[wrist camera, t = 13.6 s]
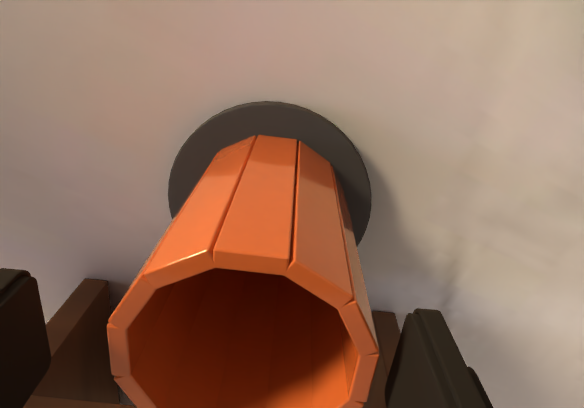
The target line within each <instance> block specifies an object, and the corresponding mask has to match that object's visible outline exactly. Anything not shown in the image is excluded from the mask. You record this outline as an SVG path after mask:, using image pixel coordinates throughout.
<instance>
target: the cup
mask: <svg viewBox="0 0 584 408" xmlns="http://www.w3.org/2000/svg"><path fill="white" fill-rule="evenodd" d="M108 322H109V323H108V324H107V335H108V345H109V355H110V365H111V374H112V375H113V376H114V381H115V382H116V383H117V384H118V385H119V387H120V388H121V389H122V390H123V391H124V393H125V394H126V395H127V396H128V397H129V399H130V400H131V401H132V402H133V403H134V405H135V406H136V407H137V408H362V407H363V406H364V402H367V399H368V396H369V392H370V388H371V385H372V381H373V378H374V374H375V370H376V367H377V363H378V359H379V347H378V342H377V338H376V333H375V328H374V324H373V319H372V315H371V310H370V306H369V301H368V297H367V292H366V288H365V283H364V278H363V274H362V269H361V265H360V260H359V256H358V251H357V247H356V242H355V238H354V233H353V228H352V224H351V219H350V215H349V210H348V206H347V201H346V197H345V194H344V192H343V189H342V187H341V185H340V182H339V180H338V177H337V175H336V172H335V170H334V168H333V166H332V165H331V164H330V162H329V161H327V160H326V159H325V158H323V157H322V156H321V155H319V154H318V153H316V152H315V151H314V150H312V149H311V148H310V147H308V146H307V145H306V144H304V143H303V142H301V141H299V142H298V143H297V139H290V138H282V137H274V136H265V135H258V136H257V138H256V136H255V135H254V136H251V137H249V138H247V139H244V140H242V141H240V142H237V143H235V144H233V145H230V146H228V147H226V148H223V149H221V150H220V152H217V154H216V155H215V156H214V158H213V159H212V161H211V162H210V164H209V165H208V167H207V168H206V169H205V171H204V172H203V174H202V175H201V177H200V178H199V180H198V181H197V183H196V184H195V186H194V187H193V189H192V190H191V192H190V194H189V195H188V197H187V198H186V200H185V201H184V203H183V204H182V206H181V208H180V209H179V211H178V212H177V214H176V215H175V217H174V218H173V220H172V221H171V223H170V225H169V226H168V228H167V229H166V231H165V232H164V234H163V235H162V237H161V239H160V240H159V242H158V243H157V245H156V246H155V248H154V249H153V251H152V253H151V254H150V256H149V257H148V259H147V260H146V262H145V263H144V265H143V266H142V268H141V270H140V271H139V273H138V274H137V276H136V277H135V279H134V280H133V282H132V284H131V285H130V287H129V288H128V290H127V291H126V293H125V294H124V296H123V298H122V299H121V301H120V302H119V304H118V305H117V307H116V308H115V310H114V312H113V313H112V315H111V316H110V318H109V319H108Z"/></svg>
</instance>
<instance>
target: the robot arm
mask: <svg viewBox="0 0 584 408" xmlns="http://www.w3.org/2000/svg"><path fill="white" fill-rule="evenodd" d="M50 364H51V352H50V347H49V341H48V336H47V331H46V326H45V321H44V315H43V310H42V305H41V300H40V295H39V290H38V284H37V281H36V279H35V278H34V277H31V275H30V273H29V272H28V271H25V270H16V269H6V268H2V269H0V408H23V407H24V405H25V404H26V402H27V401H28V399H29V398H30V396H31V395H32V393H33V392H34V390H35V389H36V387H37V386H38V384H39V383H40V382H41V380H42V379H43V377H44V376H45V374H46V373H47V371H48V369H49V367H50ZM384 395H385V403H386V407H387V408H493V406H492V404H491V402H490V400H489V398H488V396H487V394H486V392H485V390H484V388H483V386H482V384H481V382H480V380H479V378H478V376H477V374H476V373H475V371H474V370H473V369H472V368H471V367H467V366H466V364H465V362H464V360H463V358H462V355H461V353H460V351H459V349H458V347H457V345H456V343H455V341H454V339H453V337H452V334H451V332H450V330H449V328H448V326H447V324H446V322H445V320H444V318H443V316H442V314H441V312H440V311H438V310H430V309H419V308H417V309H415V310H414V312H413V314H411V313H409V314H407V316H406V319H405V322H404V325H403V329H402V332H401V335H400V338H399V342H398V345H397V348H396V352H395V355H394V358H393V362H392V365H391V368H390V371H389V375H388V378H387V381H386V385H385V392H384Z"/></svg>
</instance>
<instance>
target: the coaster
mask: <svg viewBox="0 0 584 408" xmlns="http://www.w3.org/2000/svg"><path fill="white" fill-rule="evenodd" d="M254 135H255V136H256V138H257V136H258V135H265V136H274V137H282V138H290V139H297V143H298V142H299V141H301V142H303V143H304V144H306V145H307V146H308V147H310V148H311V149H312V150H314V151H315V152H316V153H318V154H319V155H321V156H322V157H323V158H325V159H326V160H327V161H329V162H330V164H331V165H332V166H333V168H334V170H335V172H336V175H337V177H338V180H339V182H340V185H341V187H342V189H343V192H344V194H345V197H346V201H347V206H348V210H349V215H350V219H351V224H352V228H353V233H354V238H355V242H356V247H357V246H358V244H359V243H360V241H361V239H362V237H363V235H364V233H365V230H366V228H367V224H368V221H369V218H370V211H371V189H370V182H369V178H368V175H367V172H366V168H365V166H364V164H363V161H362V159H361V157H360V155H359V153H358V151H357V150H356V148H355V147H354V145H353V144H352V142H351V141H350V140H349V139H348V138H347V137H346V135H345V134H344V133H343V132H342V131H341V130H340V129H338V128H337V127H336V126H335V125H334V124H333V123H331V122H330V121H328V120H327V119H325V118H324V117H322V116H321V115H319V114H317V113H314V112H312V111H310V110H308V109H305V108H302V107H299V106H296V105H292V104H287V103H282V102H268V101H265V102H252V103H247V104H242V105H238V106H235V107H232V108H230V109H227V110H224V111H222V112H220V113H219V114H217V115H215V116H213V117H211V118H210V119H209V120H207V121H206V122H205V123H203V124H202V125H201V126H200V127H199V128H198V129H197V130H196V131H195V132H194V133H193V134H192V135H191V136H190V137H189V138H188V140H187V141H186V142H185V143H184V145H183V146H182V148H181V149H180V151H179V153H178V155H177V157H176V159H175V161H174V164H173V167H172V170H171V174H170V179H169V188H168V199H169V208H170V212H171V216H172V220H173V218H174V217H175V215H176V214H177V212H178V211H179V209H180V208H181V206H182V204H183V203H184V201H185V200H186V198H187V197H188V195H189V194H190V192H191V190H192V189H193V187H194V186H195V184H196V183H197V181H198V180H199V178H200V177H201V175H202V174H203V172H204V171H205V169H206V168H207V167H208V165H209V164H210V162H211V161H212V159H213V158H214V156H215V155H216V154H217V152H220V150H221V149H223V148H226V147H228V146H230V145H233V144H235V143H237V142H240V141H242V140H244V139H247V138H249V137H251V136H254Z"/></svg>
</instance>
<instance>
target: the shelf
mask: <svg viewBox="0 0 584 408" xmlns="http://www.w3.org/2000/svg"><path fill="white" fill-rule="evenodd" d="M110 316H111V311H110V300H109V289H108V281H103V280H94V279H84V280H83V281H82V282H81V283H80V285H79V286H78V287H77V288H76V289H75V291H74V292H73V293H72V294H71V295H70V297H69V298H68V299H67V300H66V301H65V303H64V304H63V305H62V306H61V307H60V309H59V310H58V311H57V312H56V313H55V315H54V316H53V317H52V318H51V319H50V321H49V322H48V323H47V324H46V325H45V326H46V331H47V336H48V341H49V347H50V352H51V364H50V367H49V369H48V371H47V373H46V374H45V376H44V377H43V379H42V380H41V382H40V383H39V384H38V386H37V387H36V389H35V390H34V392H33V393H32V395H31V396H30V398H29V399H28V401H27V402H26V404H25V405H24V407H23V408H137V407H136V406H131V405H122V404H119V396H118V385H117V383H116V382H115V381H114V376H113V375H112V374H111V365H110V355H109V345H108V335H107V324H108V323H109V322H108V319H109V318H110ZM372 319H373V324H374V328H375V333H376V338H377V342H378V347H379V359H378V363H377V367H376V370H375V374H374V378H373V381H372V385H371V388H370V392H369V396H368V399H367V402H364V406H363V407H362V408H387V407H386V403H385V395H384V392H385V385H386V381H387V378H388V375H389V371H390V368H391V365H392V362H393V358H394V355H395V352H396V348H397V345H398V342H399V338H400V335H401V333H400V330H399V326H398V323H397V320H396V316H395V314H394V313H387V312H378V311H373V312H372Z"/></svg>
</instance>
